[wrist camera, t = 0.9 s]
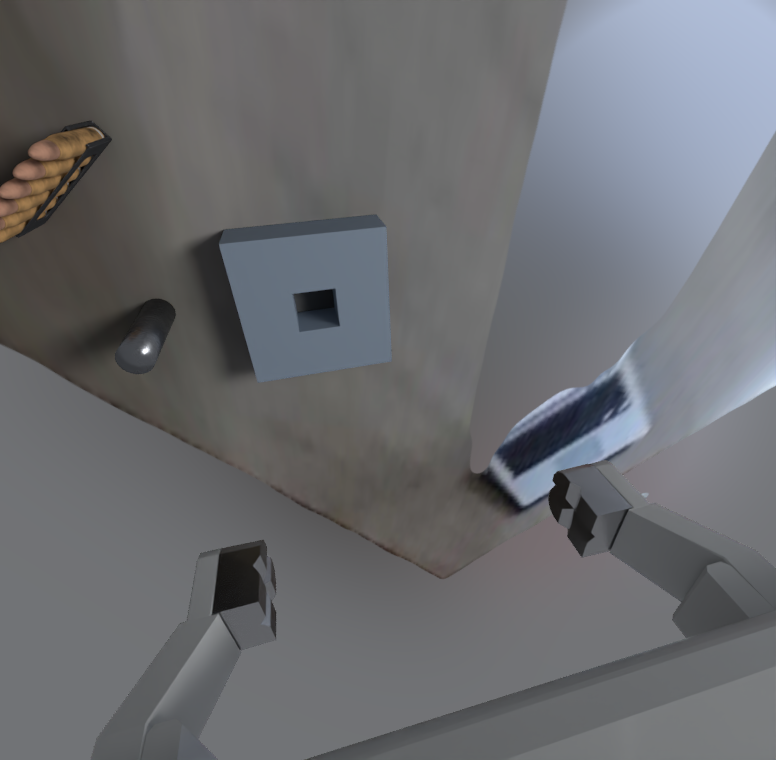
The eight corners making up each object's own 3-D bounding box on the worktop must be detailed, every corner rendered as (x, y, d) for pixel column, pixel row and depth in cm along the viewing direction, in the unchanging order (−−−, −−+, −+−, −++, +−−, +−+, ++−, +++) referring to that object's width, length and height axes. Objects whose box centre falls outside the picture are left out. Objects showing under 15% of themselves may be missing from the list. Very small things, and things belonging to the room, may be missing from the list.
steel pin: (138, 300, 44) (108, 347, 36) (169, 296, 44) (147, 341, 36) (149, 327, 46) (123, 376, 38) (179, 323, 46) (160, 371, 38)
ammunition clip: (43, 224, 38) (-33, 268, 29) (21, 209, 37) (-66, 249, 27) (112, 139, 36) (54, 156, 26) (90, 119, 35) (21, 130, 25)
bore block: (223, 229, 42) (218, 244, 38) (376, 214, 44) (386, 226, 40) (258, 360, 51) (257, 382, 47) (382, 341, 54) (391, 361, 50)
